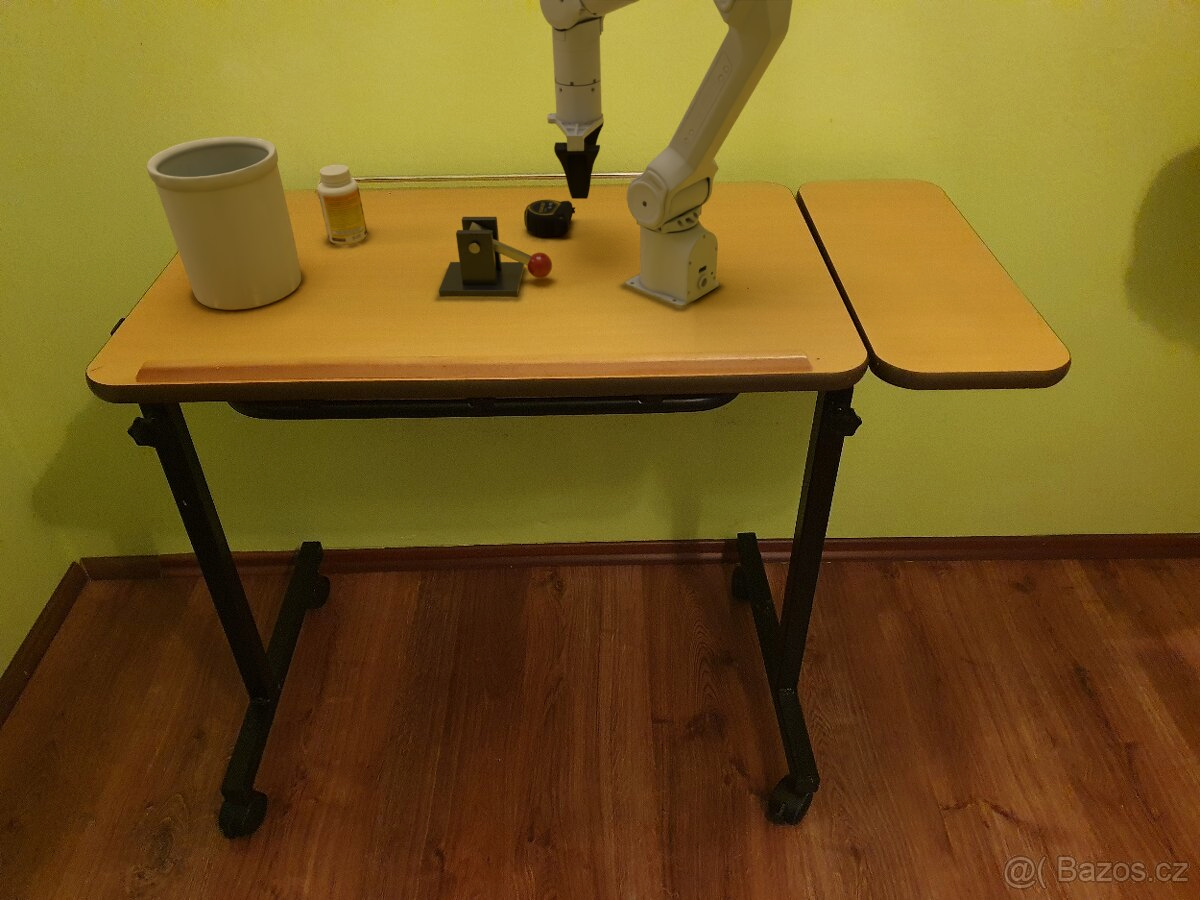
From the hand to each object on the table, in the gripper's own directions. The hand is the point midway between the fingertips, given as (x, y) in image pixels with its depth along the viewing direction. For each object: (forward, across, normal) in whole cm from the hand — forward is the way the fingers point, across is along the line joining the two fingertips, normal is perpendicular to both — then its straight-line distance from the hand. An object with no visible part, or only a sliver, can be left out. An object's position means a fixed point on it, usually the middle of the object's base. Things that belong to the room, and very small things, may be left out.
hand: (581, 186), depth 119 cm
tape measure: (+10, -7, -5) cm, 13 cm away
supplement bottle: (+10, -4, -34) cm, 36 cm away
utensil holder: (+10, +10, -44) cm, 46 cm away
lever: (+6, +10, -9) cm, 15 cm away
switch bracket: (+9, +10, -13) cm, 18 cm away
